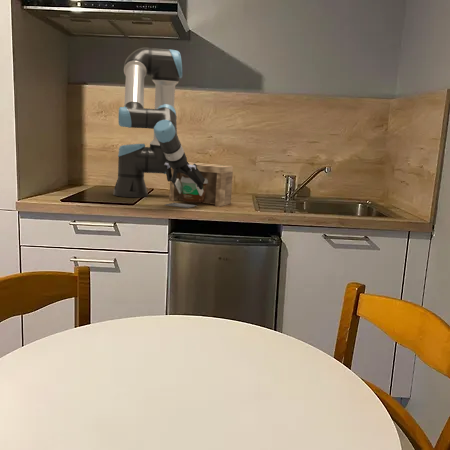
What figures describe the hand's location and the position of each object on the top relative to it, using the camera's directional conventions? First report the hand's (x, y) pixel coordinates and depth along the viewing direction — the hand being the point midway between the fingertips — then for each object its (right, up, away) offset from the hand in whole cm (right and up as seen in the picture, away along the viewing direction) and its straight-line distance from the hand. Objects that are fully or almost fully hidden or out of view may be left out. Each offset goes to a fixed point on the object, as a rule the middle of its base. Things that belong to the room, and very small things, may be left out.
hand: (191, 192), depth 223 cm
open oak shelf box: (+3, -4, +9) cm, 11 cm away
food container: (0, -4, +1) cm, 4 cm away
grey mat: (-4, -6, -5) cm, 9 cm away
